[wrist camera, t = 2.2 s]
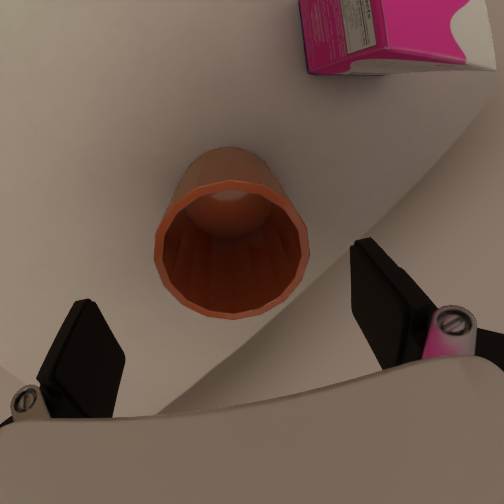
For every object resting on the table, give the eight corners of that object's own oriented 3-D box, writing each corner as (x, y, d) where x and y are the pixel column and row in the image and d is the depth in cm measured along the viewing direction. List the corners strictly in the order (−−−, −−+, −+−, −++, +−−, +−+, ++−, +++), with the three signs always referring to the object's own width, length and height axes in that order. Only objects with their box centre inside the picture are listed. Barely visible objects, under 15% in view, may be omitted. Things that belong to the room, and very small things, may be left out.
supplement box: (374, 2, 16) (479, -40, 6) (383, 76, 18) (500, 80, 8) (295, -4, 16) (362, -80, 5) (305, 75, 18) (389, 59, 8)
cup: (268, 138, 20) (298, 166, 12) (284, 229, 23) (315, 302, 15) (168, 160, 20) (133, 203, 12) (193, 248, 23) (181, 329, 15)
